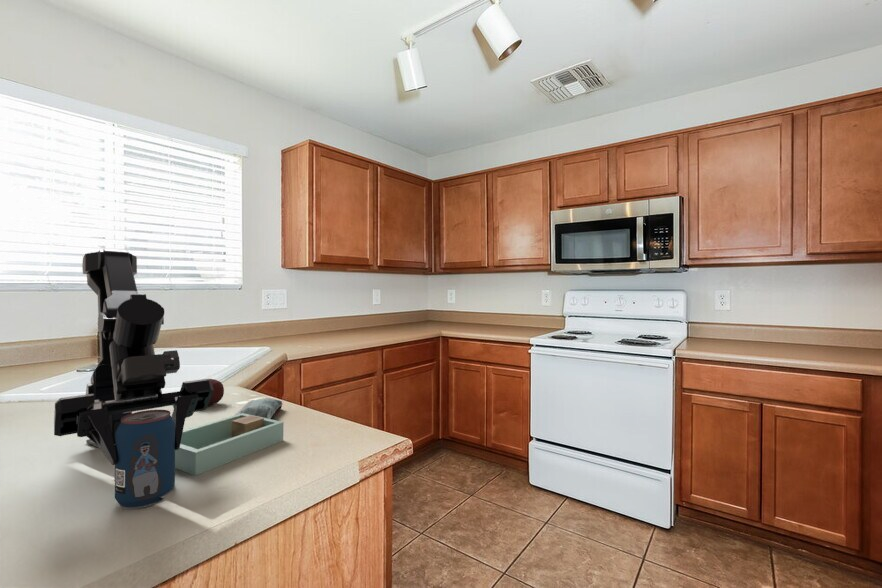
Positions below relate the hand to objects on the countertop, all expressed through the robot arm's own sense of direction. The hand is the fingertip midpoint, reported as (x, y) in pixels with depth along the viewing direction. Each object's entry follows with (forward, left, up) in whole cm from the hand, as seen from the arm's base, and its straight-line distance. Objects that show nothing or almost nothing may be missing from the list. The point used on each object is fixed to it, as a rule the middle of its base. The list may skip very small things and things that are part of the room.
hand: (147, 455), depth 56 cm
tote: (-6, +15, -7) cm, 18 cm away
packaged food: (-17, +31, -7) cm, 36 cm away
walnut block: (-6, +21, -6) cm, 22 cm away
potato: (-39, +33, -7) cm, 52 cm away
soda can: (-1, 0, -7) cm, 7 cm away
